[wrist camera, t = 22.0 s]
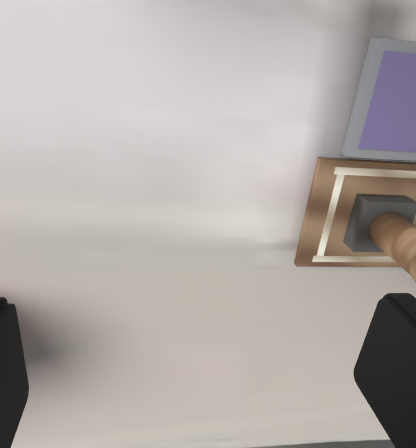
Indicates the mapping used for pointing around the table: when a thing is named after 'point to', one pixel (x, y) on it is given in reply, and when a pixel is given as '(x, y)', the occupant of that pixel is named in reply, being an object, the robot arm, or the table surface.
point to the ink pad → (385, 103)
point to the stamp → (384, 228)
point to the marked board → (347, 208)
